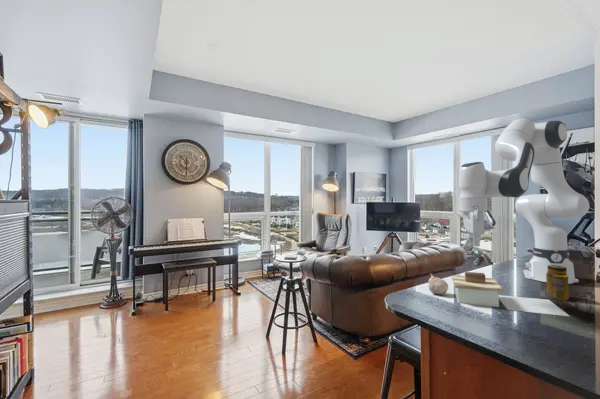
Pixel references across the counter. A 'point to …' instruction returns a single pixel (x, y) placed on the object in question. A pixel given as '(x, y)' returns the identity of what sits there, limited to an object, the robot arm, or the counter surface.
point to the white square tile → (531, 305)
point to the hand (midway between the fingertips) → (474, 244)
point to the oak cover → (476, 282)
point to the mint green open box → (477, 297)
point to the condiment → (557, 282)
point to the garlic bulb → (437, 285)
